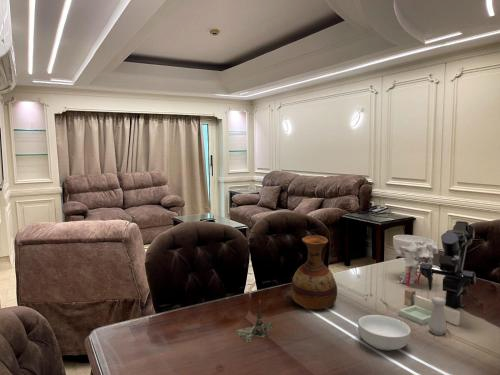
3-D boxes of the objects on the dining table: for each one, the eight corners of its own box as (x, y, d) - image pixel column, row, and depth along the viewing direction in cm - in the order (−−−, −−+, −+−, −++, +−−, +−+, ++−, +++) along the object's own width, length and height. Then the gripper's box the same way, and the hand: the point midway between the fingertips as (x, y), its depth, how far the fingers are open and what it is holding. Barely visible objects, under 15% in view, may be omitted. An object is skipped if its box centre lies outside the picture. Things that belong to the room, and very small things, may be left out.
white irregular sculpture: (382, 277, 197) (384, 235, 195) (411, 275, 203) (413, 234, 201) (415, 294, 173) (418, 246, 172) (448, 290, 179) (450, 244, 177)
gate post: (409, 303, 162) (409, 288, 161) (414, 305, 159) (415, 290, 159) (404, 304, 160) (405, 289, 160) (410, 307, 158) (410, 291, 157)
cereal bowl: (404, 363, 113) (406, 341, 113) (351, 348, 122) (352, 327, 121) (413, 341, 128) (414, 321, 127) (364, 329, 136) (365, 310, 136)
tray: (414, 310, 154) (414, 305, 154) (438, 319, 146) (438, 314, 145) (398, 315, 149) (398, 310, 149) (422, 325, 140) (422, 319, 140)
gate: (413, 305, 159) (414, 294, 158) (459, 324, 141) (459, 311, 140) (411, 306, 158) (411, 294, 158) (456, 325, 140) (457, 312, 140)
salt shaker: (448, 337, 131) (450, 301, 130) (430, 335, 132) (432, 300, 131) (443, 329, 137) (445, 295, 136) (426, 328, 138) (428, 294, 137)
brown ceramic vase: (284, 308, 154) (286, 237, 152) (297, 292, 172) (299, 229, 170) (332, 316, 146) (334, 242, 144) (339, 299, 165) (342, 233, 163)
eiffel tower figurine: (269, 323, 140) (270, 289, 139) (284, 334, 131) (285, 298, 130) (234, 331, 133) (234, 295, 132) (246, 344, 124) (247, 305, 123)
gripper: (422, 243, 148) (413, 276, 140) (476, 250, 136) (470, 287, 128) (426, 258, 154) (417, 291, 146) (477, 267, 143) (472, 303, 135)
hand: (443, 292), depth 139 cm, fingers open, 9 cm apart
